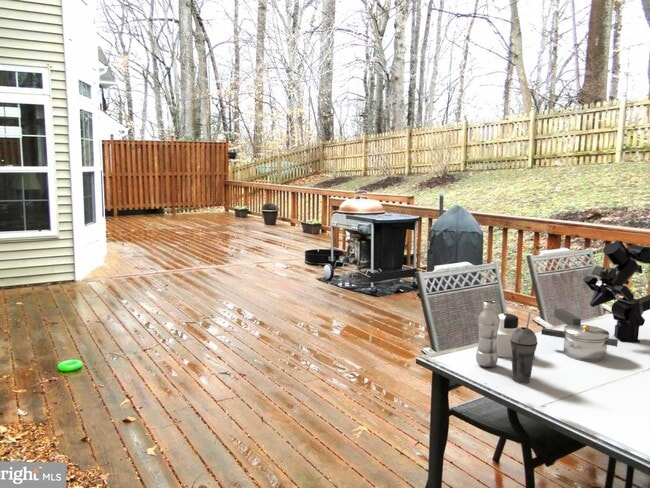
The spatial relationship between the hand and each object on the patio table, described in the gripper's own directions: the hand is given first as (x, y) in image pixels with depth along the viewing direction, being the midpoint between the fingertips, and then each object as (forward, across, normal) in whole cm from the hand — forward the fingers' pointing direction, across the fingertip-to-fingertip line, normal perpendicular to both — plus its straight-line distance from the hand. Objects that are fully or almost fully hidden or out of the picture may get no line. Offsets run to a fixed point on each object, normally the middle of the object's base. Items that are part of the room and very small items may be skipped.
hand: (591, 305), depth 178 cm
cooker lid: (+11, +5, -2) cm, 12 cm away
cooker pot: (+18, +10, +1) cm, 20 cm away
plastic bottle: (+42, +14, -24) cm, 50 cm away
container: (+34, +5, -15) cm, 38 cm away
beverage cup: (+39, +26, -21) cm, 51 cm away
